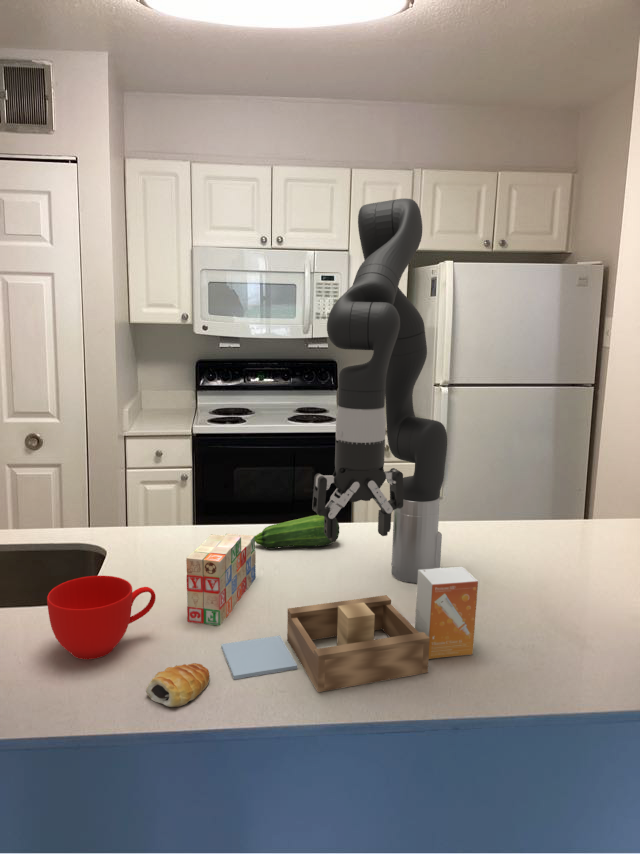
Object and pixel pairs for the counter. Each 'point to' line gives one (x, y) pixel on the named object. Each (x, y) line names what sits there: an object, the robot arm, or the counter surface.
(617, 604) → the counter surface
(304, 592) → the counter surface
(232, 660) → the pad
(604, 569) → the counter surface
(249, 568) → the stack of blocks
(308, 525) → the vegetable
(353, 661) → the crate
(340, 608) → the block
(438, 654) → the small box
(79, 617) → the ceramic cup
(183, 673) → the pastry
